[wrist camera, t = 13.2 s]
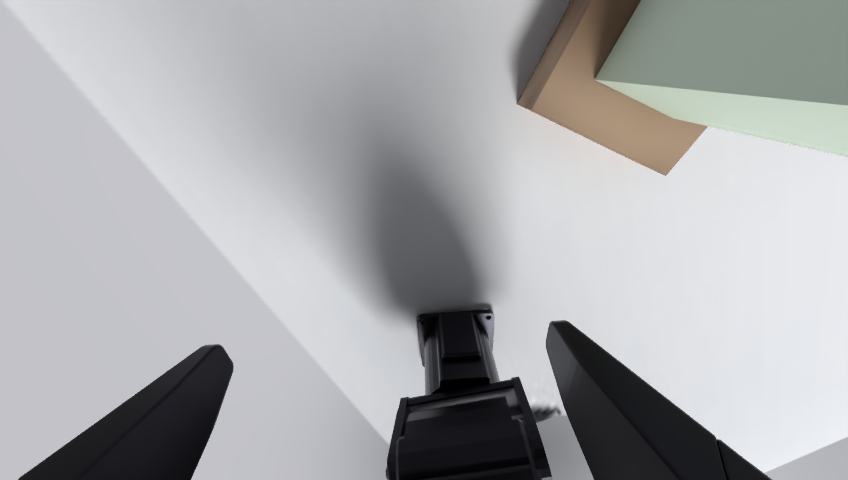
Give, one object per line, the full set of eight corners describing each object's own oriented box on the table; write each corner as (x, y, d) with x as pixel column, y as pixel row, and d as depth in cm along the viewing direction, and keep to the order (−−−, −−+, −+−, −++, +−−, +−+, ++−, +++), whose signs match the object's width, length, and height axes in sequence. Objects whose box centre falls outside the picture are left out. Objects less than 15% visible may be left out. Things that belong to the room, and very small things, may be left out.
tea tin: (673, 118, 15) (1048, 200, 6) (594, 79, 14) (909, 111, 5) (739, 29, 13) (1408, -34, 4) (654, -23, 12) (1303, -245, 3)
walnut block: (632, 160, 19) (665, 175, 17) (514, 103, 18) (531, 110, 15) (757, -2, 15) (827, -15, 13) (620, -101, 13) (668, -139, 11)
